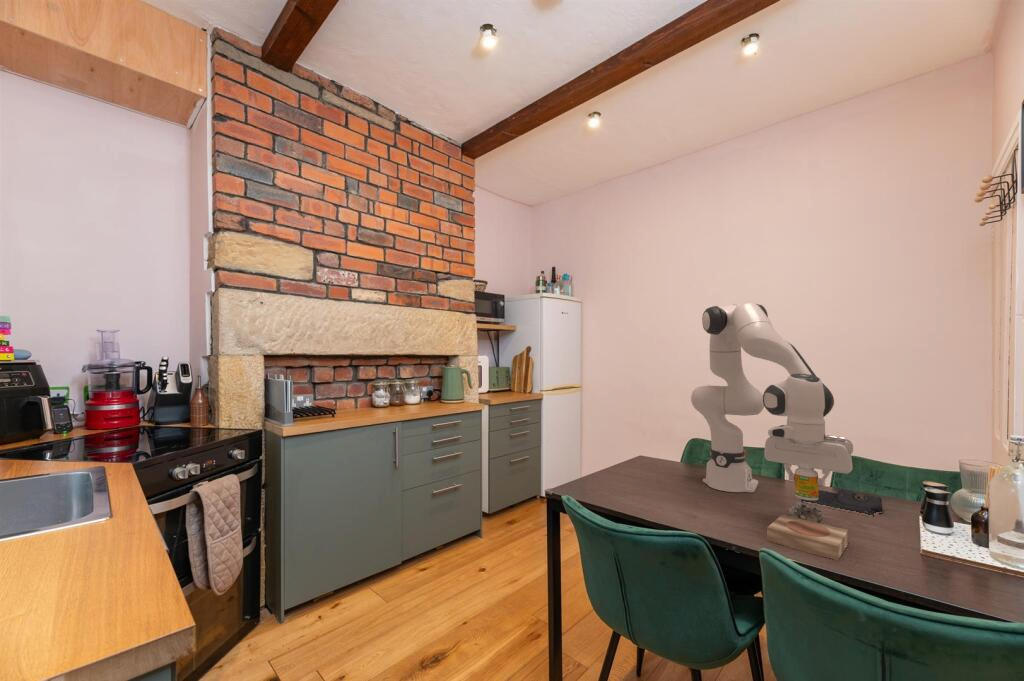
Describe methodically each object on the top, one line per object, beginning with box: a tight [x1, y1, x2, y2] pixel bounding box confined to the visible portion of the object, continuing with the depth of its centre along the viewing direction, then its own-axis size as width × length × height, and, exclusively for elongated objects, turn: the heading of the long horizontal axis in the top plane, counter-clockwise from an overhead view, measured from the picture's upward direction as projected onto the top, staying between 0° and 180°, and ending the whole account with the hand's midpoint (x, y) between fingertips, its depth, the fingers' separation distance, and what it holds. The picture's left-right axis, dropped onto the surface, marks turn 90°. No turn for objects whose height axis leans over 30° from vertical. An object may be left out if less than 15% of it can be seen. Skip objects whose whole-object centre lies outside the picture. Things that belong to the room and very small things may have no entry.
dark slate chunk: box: [801, 489, 883, 515], centre depth 150 cm, size 15×22×5 cm
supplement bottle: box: [794, 463, 819, 500], centre depth 121 cm, size 5×5×10 cm
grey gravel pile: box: [788, 501, 823, 523], centre depth 137 cm, size 11×8×4 cm
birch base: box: [766, 514, 850, 561], centre depth 120 cm, size 14×16×4 cm
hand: (806, 482), depth 121 cm, fingers closed on supplement bottle, 5 cm apart
